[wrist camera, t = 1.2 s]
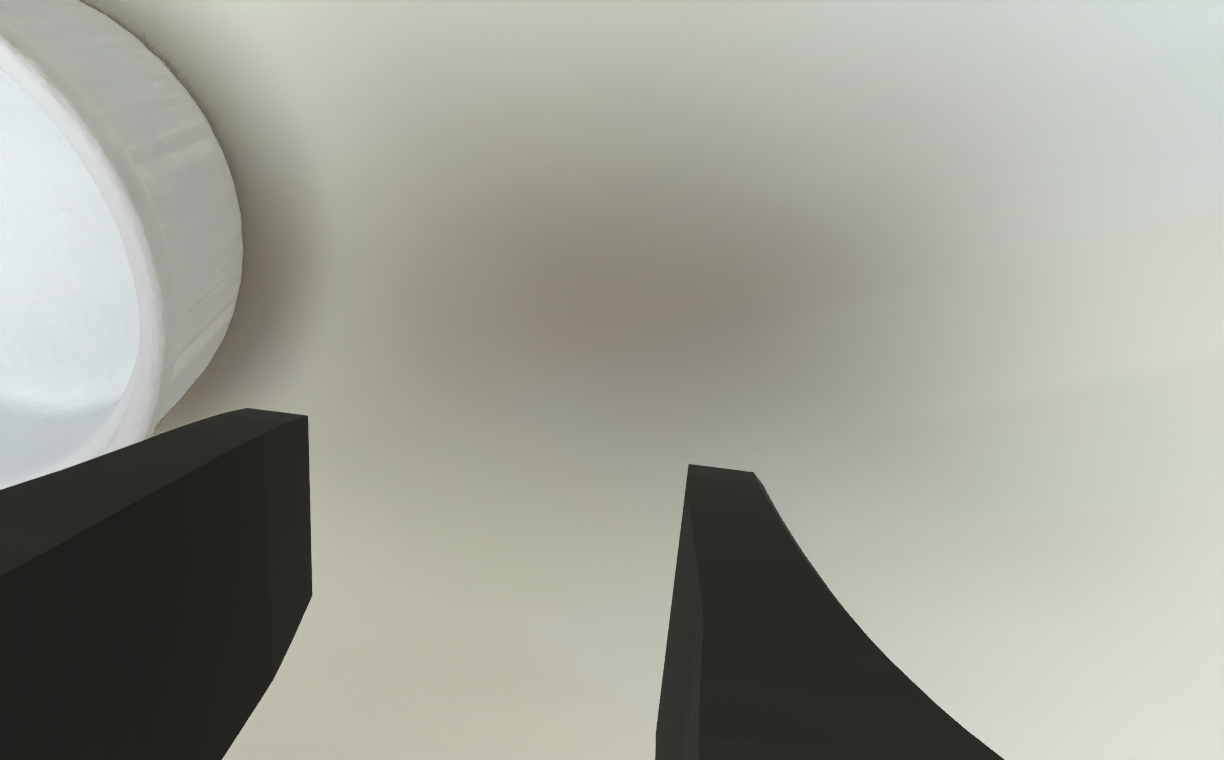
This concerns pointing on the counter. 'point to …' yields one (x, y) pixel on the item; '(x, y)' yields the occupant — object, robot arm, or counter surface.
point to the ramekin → (102, 238)
